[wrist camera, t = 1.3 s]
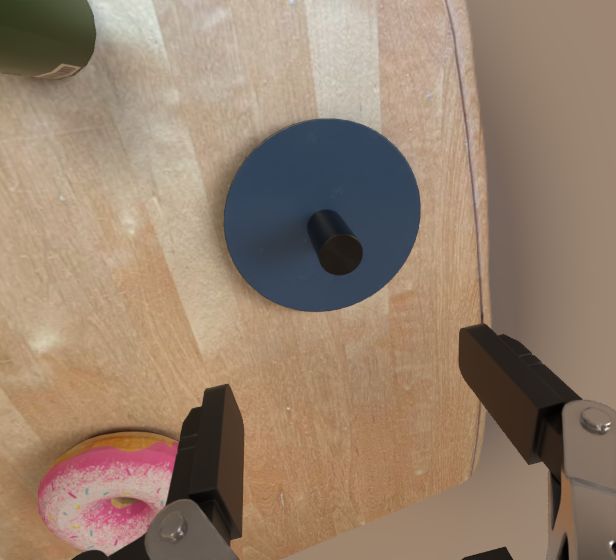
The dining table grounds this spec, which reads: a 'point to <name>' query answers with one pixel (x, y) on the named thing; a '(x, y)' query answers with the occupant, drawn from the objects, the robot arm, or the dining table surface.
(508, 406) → the robot arm
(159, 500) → the donut
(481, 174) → the dining table surface
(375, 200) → the lid
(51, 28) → the beer can
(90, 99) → the dining table surface
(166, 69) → the dining table surface
